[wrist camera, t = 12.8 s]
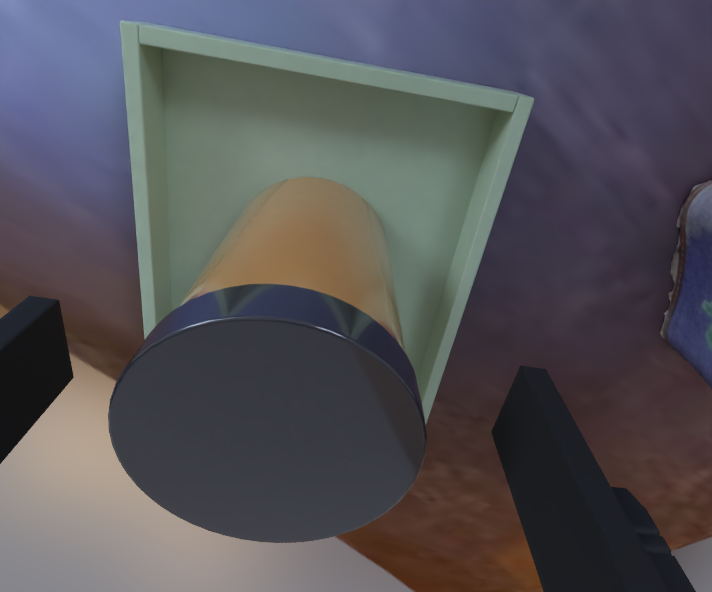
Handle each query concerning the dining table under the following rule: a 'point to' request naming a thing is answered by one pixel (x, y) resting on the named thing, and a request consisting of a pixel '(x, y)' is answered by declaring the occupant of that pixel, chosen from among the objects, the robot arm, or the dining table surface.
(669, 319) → the flask
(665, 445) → the dining table surface
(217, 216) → the serving tray
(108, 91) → the dining table surface
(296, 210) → the jar
